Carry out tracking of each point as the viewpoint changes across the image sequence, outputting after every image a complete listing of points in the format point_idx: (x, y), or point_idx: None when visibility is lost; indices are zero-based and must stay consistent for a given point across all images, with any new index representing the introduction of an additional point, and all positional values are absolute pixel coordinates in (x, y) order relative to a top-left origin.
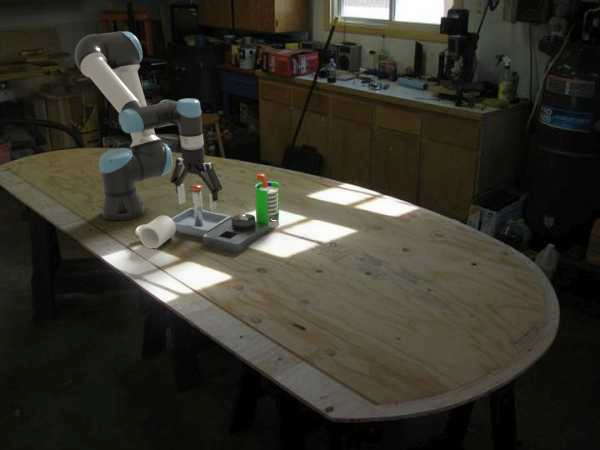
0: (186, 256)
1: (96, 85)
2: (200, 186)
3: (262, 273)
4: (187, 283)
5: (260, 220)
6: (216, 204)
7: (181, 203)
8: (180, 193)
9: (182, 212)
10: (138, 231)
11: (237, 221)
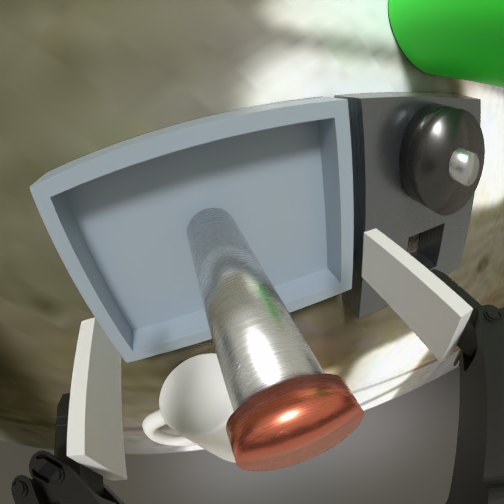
0: (342, 355)
1: None
2: (352, 417)
3: (484, 270)
4: (396, 374)
5: (452, 77)
6: (393, 244)
7: (117, 352)
8: (117, 417)
9: (69, 266)
10: (189, 445)
11: (451, 203)
